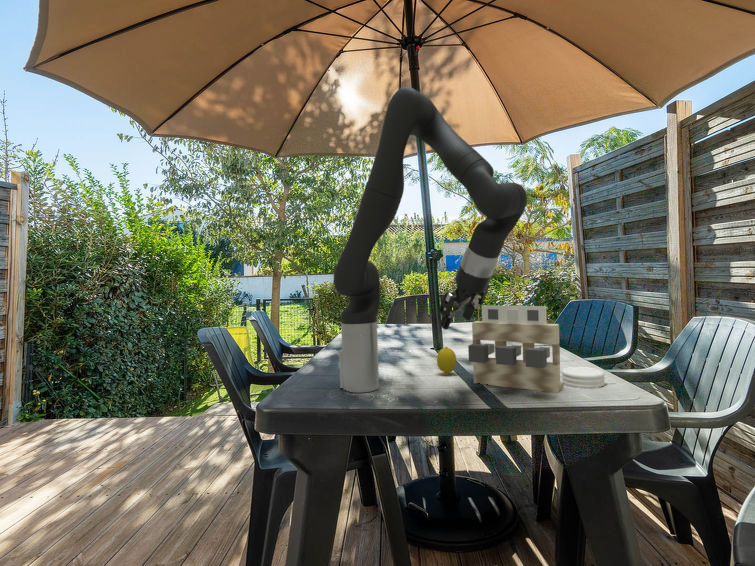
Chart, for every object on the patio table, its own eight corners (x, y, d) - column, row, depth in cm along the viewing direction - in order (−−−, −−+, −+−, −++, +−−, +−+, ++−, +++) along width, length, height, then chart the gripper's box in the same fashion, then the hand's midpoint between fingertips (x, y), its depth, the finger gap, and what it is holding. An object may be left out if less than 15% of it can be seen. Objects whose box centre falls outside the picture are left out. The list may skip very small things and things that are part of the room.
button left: (468, 361, 113) (468, 345, 113) (483, 354, 121) (482, 339, 121) (484, 362, 111) (483, 346, 110) (498, 355, 119) (497, 340, 119)
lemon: (456, 376, 127) (455, 348, 127) (436, 376, 128) (435, 348, 128) (457, 372, 132) (456, 345, 132) (438, 372, 133) (437, 345, 133)
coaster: (555, 385, 116) (554, 371, 115) (571, 377, 123) (570, 364, 122) (596, 391, 108) (596, 377, 108) (610, 383, 116) (610, 369, 115)
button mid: (496, 364, 109) (495, 347, 109) (509, 356, 117) (508, 341, 117) (512, 365, 107) (512, 348, 107) (525, 358, 115) (524, 342, 115)
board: (473, 383, 119) (472, 322, 119) (482, 378, 124) (480, 320, 124) (557, 392, 108) (556, 325, 107) (563, 387, 112) (561, 322, 112)
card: (481, 322, 118) (481, 305, 118) (483, 322, 119) (482, 305, 118) (545, 324, 109) (545, 306, 109) (546, 324, 110) (546, 306, 109)
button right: (525, 366, 105) (525, 349, 105) (537, 358, 113) (536, 343, 113) (543, 368, 103) (543, 350, 103) (553, 360, 111) (553, 344, 111)
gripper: (483, 253, 109) (462, 307, 118) (444, 264, 100) (424, 321, 109) (508, 270, 105) (484, 324, 113) (469, 282, 96) (446, 340, 105)
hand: (455, 322), depth 111 cm, fingers open, 8 cm apart
